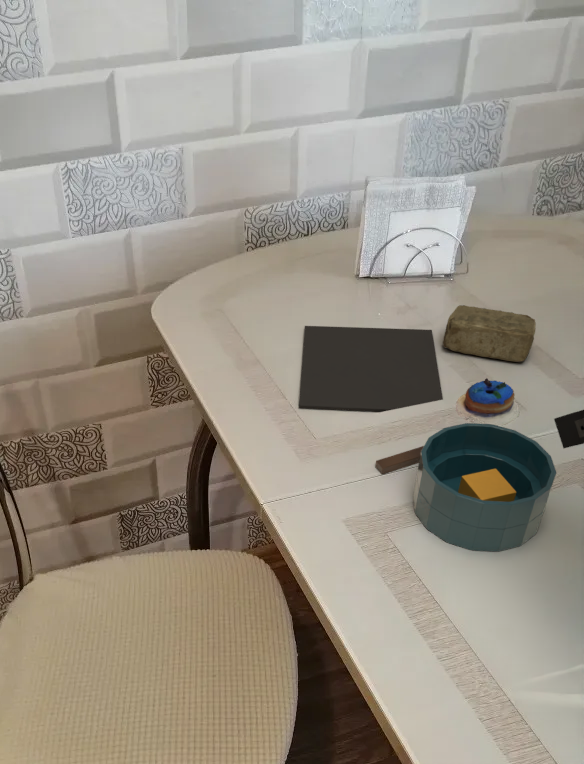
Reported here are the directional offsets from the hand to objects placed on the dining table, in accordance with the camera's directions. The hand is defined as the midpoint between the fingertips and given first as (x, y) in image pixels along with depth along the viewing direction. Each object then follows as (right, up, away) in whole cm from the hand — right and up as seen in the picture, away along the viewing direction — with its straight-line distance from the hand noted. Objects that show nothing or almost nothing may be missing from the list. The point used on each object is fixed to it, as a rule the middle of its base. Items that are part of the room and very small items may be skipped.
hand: (565, 431), depth 69 cm
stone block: (+7, +14, +41) cm, 44 cm away
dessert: (+3, +5, +30) cm, 31 cm away
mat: (-9, +12, +38) cm, 41 cm away
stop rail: (-6, -2, +23) cm, 24 cm away
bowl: (-2, -7, +17) cm, 18 cm away
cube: (-2, -7, +16) cm, 17 cm away
